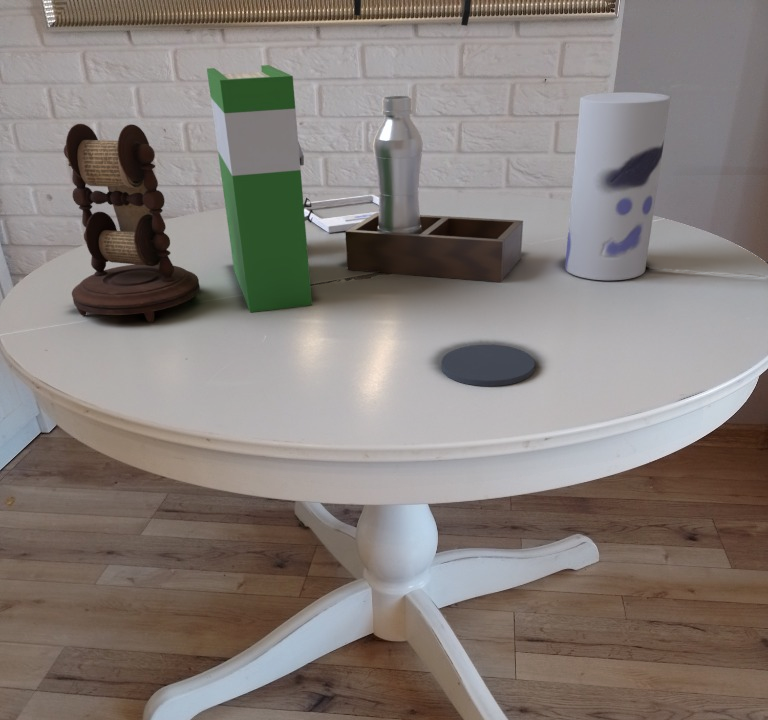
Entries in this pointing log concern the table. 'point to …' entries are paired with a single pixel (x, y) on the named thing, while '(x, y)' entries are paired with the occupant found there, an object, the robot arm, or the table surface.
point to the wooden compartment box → (438, 248)
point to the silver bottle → (398, 168)
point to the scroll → (124, 227)
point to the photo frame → (342, 221)
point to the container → (615, 183)
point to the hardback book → (262, 185)
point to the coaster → (488, 365)
